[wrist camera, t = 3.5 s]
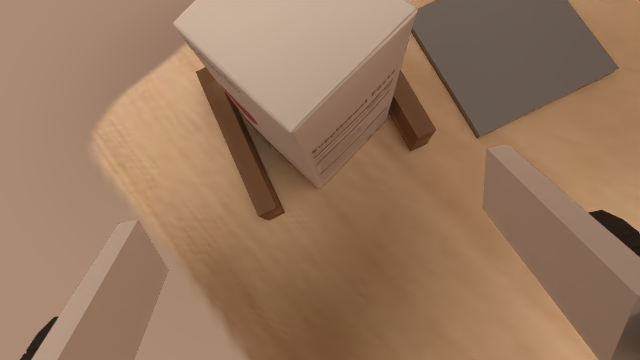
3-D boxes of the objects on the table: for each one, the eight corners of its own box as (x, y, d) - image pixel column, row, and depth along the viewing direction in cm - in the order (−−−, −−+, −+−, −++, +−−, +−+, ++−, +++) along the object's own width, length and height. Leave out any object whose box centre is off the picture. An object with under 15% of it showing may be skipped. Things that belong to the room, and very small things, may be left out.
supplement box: (248, 125, 32) (163, 19, 18) (317, 58, 33) (289, -96, 19) (318, 193, 31) (288, 137, 16) (390, 120, 31) (423, 3, 17)
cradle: (355, 21, 34) (355, -6, 30) (426, 143, 31) (436, 129, 27) (211, 90, 33) (195, 71, 30) (268, 220, 30) (258, 216, 27)
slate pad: (528, -41, 33) (531, -46, 33) (613, 71, 31) (619, 68, 30) (403, 19, 33) (404, 15, 33) (477, 138, 30) (480, 135, 30)
